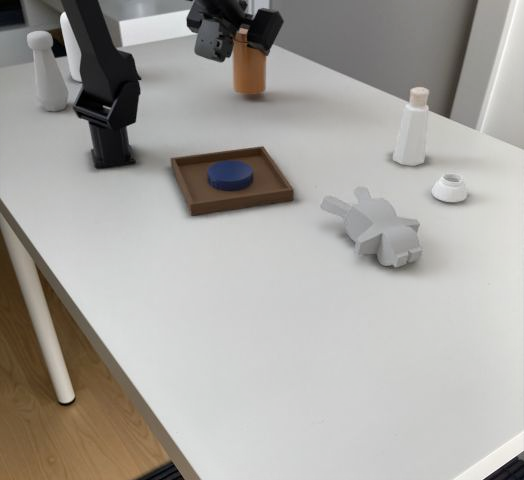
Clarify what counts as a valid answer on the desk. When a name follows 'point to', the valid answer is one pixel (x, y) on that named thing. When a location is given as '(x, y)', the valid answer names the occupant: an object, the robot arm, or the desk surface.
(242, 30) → the jar
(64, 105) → the salt shaker
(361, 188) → the bunny figurine
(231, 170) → the lid
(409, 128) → the pepper shaker
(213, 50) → the robot arm
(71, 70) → the pill bottle
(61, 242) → the desk surface
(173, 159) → the tray
